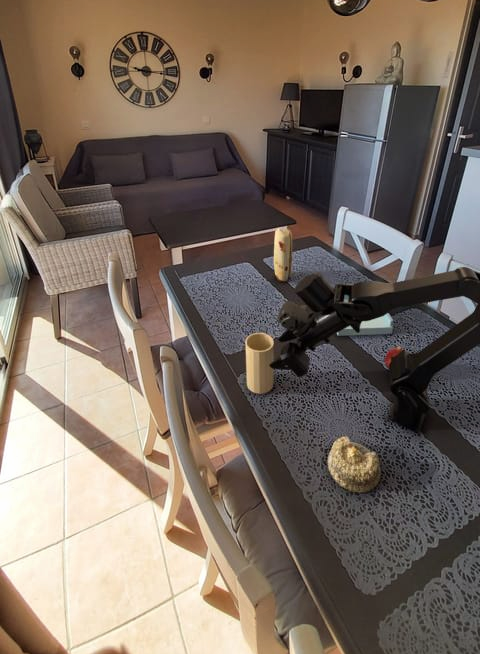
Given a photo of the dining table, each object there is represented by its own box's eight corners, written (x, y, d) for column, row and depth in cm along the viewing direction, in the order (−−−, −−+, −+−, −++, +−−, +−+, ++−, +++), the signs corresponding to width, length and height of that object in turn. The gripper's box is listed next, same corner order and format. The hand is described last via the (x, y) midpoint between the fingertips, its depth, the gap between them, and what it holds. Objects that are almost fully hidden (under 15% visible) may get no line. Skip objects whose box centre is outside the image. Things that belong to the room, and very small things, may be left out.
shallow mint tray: (391, 334, 106) (394, 321, 105) (337, 335, 106) (339, 323, 104) (372, 303, 121) (374, 291, 119) (325, 304, 121) (326, 293, 119)
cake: (373, 506, 65) (376, 488, 62) (320, 478, 69) (320, 461, 67) (385, 456, 72) (388, 439, 70) (336, 434, 77) (337, 418, 74)
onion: (409, 382, 89) (415, 357, 86) (385, 379, 91) (389, 354, 87) (404, 365, 95) (409, 341, 92) (381, 362, 96) (385, 338, 93)
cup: (263, 398, 86) (263, 355, 81) (241, 385, 90) (239, 344, 85) (278, 381, 91) (279, 339, 86) (256, 369, 95) (256, 329, 90)
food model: (271, 272, 142) (271, 225, 134) (288, 271, 143) (289, 224, 135) (275, 285, 133) (276, 235, 125) (293, 283, 134) (295, 234, 126)
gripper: (307, 275, 85) (262, 307, 93) (292, 322, 69) (239, 356, 77) (338, 308, 86) (291, 337, 94) (331, 362, 70) (275, 392, 77)
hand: (275, 353), depth 85 cm, fingers open, 9 cm apart
